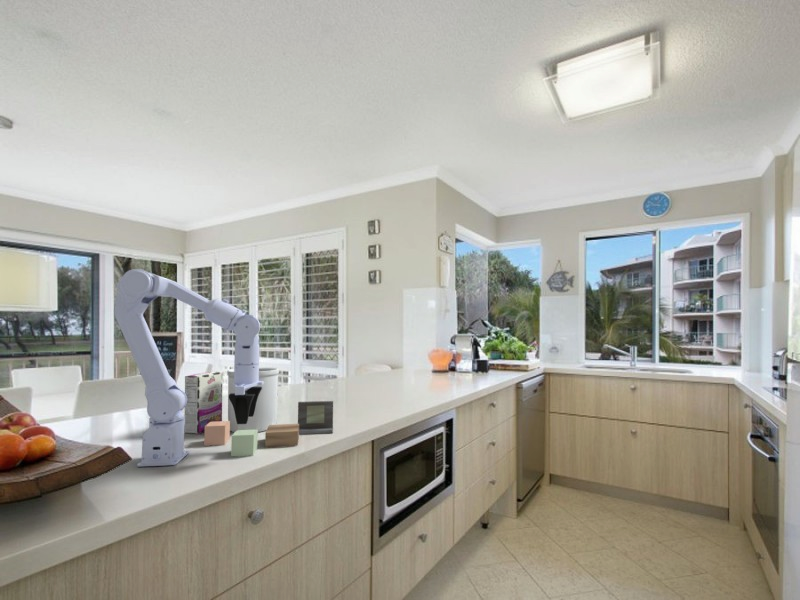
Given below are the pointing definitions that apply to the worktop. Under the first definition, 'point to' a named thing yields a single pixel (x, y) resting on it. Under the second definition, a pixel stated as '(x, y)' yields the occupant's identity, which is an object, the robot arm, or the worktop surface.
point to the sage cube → (244, 442)
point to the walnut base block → (282, 435)
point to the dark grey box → (315, 417)
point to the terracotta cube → (217, 433)
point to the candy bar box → (202, 400)
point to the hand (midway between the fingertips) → (245, 420)
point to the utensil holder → (258, 402)
